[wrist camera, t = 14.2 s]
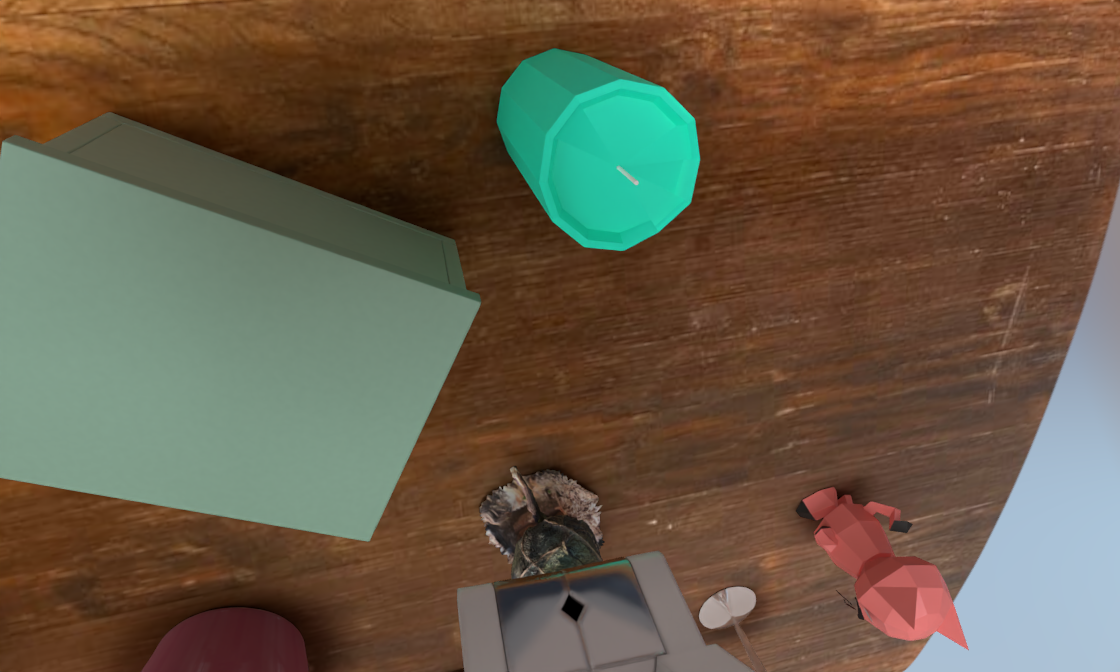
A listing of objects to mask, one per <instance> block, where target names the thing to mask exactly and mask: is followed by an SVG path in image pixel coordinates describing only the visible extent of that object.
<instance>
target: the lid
mask: <svg viewBox="0 0 1120 672" xmlns="http://www.w3.org/2000/svg"><path fill="white" fill-rule="evenodd" d="M480 305H481V299H480V295H479V294H478V293H475V292H472V291H469V290H466V289H463V288H460V287H457V286H454V285H451V284H448V283H445V282H443V281H440V280H437V279H434V278H431V277H428V276H425V275H422V274H419V273H416V272H413V271H410V270H408V269H405V268H402V267H399V266H396V265H393V264H390V263H387V262H384V261H381V260H378V259H375V258H373V257H370V256H367V255H364V254H361V253H358V252H355V251H352V250H349V249H346V248H343V247H340V246H338V245H335V244H332V243H329V242H326V241H323V240H320V239H317V238H314V237H311V236H308V235H305V234H303V233H300V232H297V231H294V230H291V229H288V228H285V227H282V226H279V225H276V224H273V223H270V222H268V221H265V220H262V219H259V218H256V217H253V216H250V215H247V214H244V213H241V212H238V211H235V210H233V209H230V208H227V207H224V206H221V205H218V204H215V203H212V202H209V201H206V200H203V199H200V198H198V197H195V196H192V195H189V194H186V193H183V192H180V191H177V190H174V189H171V188H168V187H165V186H163V185H160V184H157V183H154V182H151V181H148V180H145V179H142V178H139V177H136V176H133V175H130V174H128V173H125V172H122V171H119V170H116V169H113V168H110V167H107V166H104V165H101V164H98V163H95V162H93V161H90V160H87V159H84V158H81V157H78V156H75V155H72V154H69V153H66V152H63V151H60V150H58V149H55V148H52V147H49V146H46V145H43V144H40V143H37V142H34V141H31V140H28V139H25V138H23V137H20V136H17V135H14V136H12V137H10V138H8V139H6V140H4V141H3V142H2V149H1V156H0V478H5V479H10V480H16V481H22V482H28V483H33V484H39V485H45V486H51V487H56V488H62V489H68V490H74V491H79V492H85V493H91V494H97V495H103V496H108V497H114V498H120V499H126V500H131V501H137V502H143V503H149V504H154V505H160V506H166V507H172V508H177V509H183V510H189V511H195V512H200V513H206V514H212V515H218V516H224V517H229V518H235V519H241V520H247V521H252V522H258V523H264V524H270V525H275V526H281V527H287V528H293V529H298V530H304V531H310V532H316V533H321V534H327V535H333V536H339V537H345V538H350V539H356V540H362V541H368V542H369V541H370V539H371V537H372V535H373V533H374V531H375V528H376V526H377V524H378V522H379V520H380V518H381V516H382V513H383V511H384V509H385V507H386V505H387V503H388V501H389V499H390V496H391V494H392V492H393V490H394V488H395V486H396V484H397V482H398V479H399V477H400V475H401V473H402V471H403V469H404V467H405V464H406V462H407V460H408V458H409V456H410V454H411V452H412V450H413V447H414V445H415V443H416V441H417V439H418V437H419V435H420V433H421V430H422V428H423V426H424V424H425V422H426V420H427V418H428V415H429V413H430V411H431V409H432V407H433V405H434V403H435V401H436V398H437V396H438V394H439V392H440V390H441V388H442V386H443V384H444V381H445V379H446V377H447V375H448V373H449V371H450V369H451V366H452V364H453V362H454V360H455V358H456V356H457V354H458V352H459V349H460V347H461V345H462V343H463V341H464V339H465V337H466V335H467V332H468V330H469V328H470V326H471V324H472V322H473V320H474V317H475V315H476V313H477V311H478V309H479V307H480Z"/></svg>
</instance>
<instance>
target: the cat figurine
mask: <svg viewBox="0 0 1120 672" xmlns="http://www.w3.org/2000/svg"><path fill="white" fill-rule="evenodd" d="M796 512H797V513H798V514H799V516H800V517H804V518H807V519H811V520H815V521H817V520H819V519H821V518H823V517H824V518H823V520H822V521H821V523H820V524H819V526H818V527H817V529H816V530H815V532H814V534H815V536H814V537H815V539H816V542H817V544H818V545H820V546H821V547H822V548H823V549H824V550H826V552H827V553H828V555H829V556H830V558H831V559H832V561H833V562H834V564H835V565H836V566H838V567H839V568H841V569H842V570H844V571H845V572H847V573H848V574H850V575H851V576H853V577H854V578H856V579H857V581H856V583H855V585H854V586H855V591H856V595H857V599H856V597H855V599H856V601H857V600H858V601H857V606H858V617H859V619H862V620H864V619H865V620H867V621H868V622H870V623H871V624H872V625H874V626H875V627H877V628H878V629H879V630H881V631H882V632H884V633H885V634H886V635H888V636H889V637H894V638H899V639H904V640H909V641H912V640H918V639H924V638H926V637H928V636H929V635H931V634H933V633H934V632H936V631H938V632H939V633H941V634H942V635H944V636H946V637H948V638H949V639H951V640H952V641H954V642H956V643H957V644H959V645H961V646H962V647H964V648H966V649H968V646H967V643H966V640H965V637H964V634H963V631H962V629H961V625H960V622H959V619H958V616H957V613H956V610H955V607H954V604H953V601H952V599H951V596H950V593H949V591H948V588H947V585H946V583H945V581H944V580H943V578H942V576H941V574H940V572H939V571H938V569H937V567H936V565H933V564H931V563H929V562H927V561H924V560H922V559H920V558H917V557H915V556H913V557H895V554H894V552H893V550H892V547H891V545H890V543H889V540H888V538H887V536H886V533H885V532H884V530H883V528H882V526H881V524H880V522H879V521H878V520H877V519H876V518H875V517H874V516H873V515H874V514H875V513H876V512H878V513H881V514H883V515H886V516H888V517H890V523H889V530H890V531H897V532H904V533H907V532H908V530H909V529H910V527H911V526H912V525H913V524H911V523H909V522H907V521H900V510H898V509H896V508H894V507H890V506H886V505H883V504H879V503H875V502H872V501H871V502H870V503H868V504H867V505H866V506H865V507H864V506H863V505H862V504H853V501H852V498H851V495H843V496H842V497H841V498H839V499H838V500H837V492H836V490H835V488H834V487H831V488H827V489H823V490H820V491H818V492H816V493H814V494H813V495H811V496H809V497H807V498H805V499H803V500H802V501H801V503H800V505H799V507H798V508H797V510H796ZM836 591H837V590H836ZM837 592H838V591H837ZM838 593H839V592H838ZM839 594H840V593H839ZM840 595H841V594H840ZM841 596H842V595H841ZM842 597H843V596H842ZM847 601H848V600H847ZM844 602H845V600H844ZM848 602H849V601H848ZM849 603H850V602H849ZM858 603H859V605H858ZM846 604H847V603H846ZM850 604H851V603H850ZM847 605H848V604H847ZM851 605H852V604H851ZM848 606H850V605H848ZM852 606H853V605H852ZM852 606H850V607H852ZM859 606H860V608H859ZM852 608H853V607H852ZM853 609H855V608H853ZM855 610H856V609H855ZM862 614H863V615H862Z"/></svg>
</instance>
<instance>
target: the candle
mask: <svg viewBox="0 0 1120 672" xmlns="http://www.w3.org/2000/svg"><path fill="white" fill-rule="evenodd" d="M497 125H498V127H499V130H500V133H501V135H502V138H503V141H504V143H505V146H506V149H507V152H508V154H509V155H510V157H511V158H512V160H513V161H514V163H515V164H516V166H517V168H518V169H519V171H520V172H521V174H522V175H523V177H524V178H525V180H526V181H527V183H528V185H529V186H530V188H531V189H532V191H533V192H534V194H535V195H536V197H537V199H538V200H539V202H540V203H541V205H542V206H543V208H544V209H545V211H546V213H547V214H548V216H549V217H550V219H551V220H552V222H553V223H555V224H556V225H557V226H558V227H560V228H561V229H562V230H563V231H565V232H566V233H567V234H568V235H570V236H571V237H572V238H573V239H575V240H576V241H577V242H578V243H580V244H581V245H582V246H583V247H588V248H598V249H608V250H618V251H624V250H626V249H628V248H630V247H632V246H634V245H635V244H637V243H639V242H641V241H643V240H645V239H647V238H649V237H651V236H653V235H654V234H656V233H658V232H659V231H661V230H662V229H663V228H664V227H665V226H666V225H667V224H668V223H669V222H670V221H672V220H673V219H674V218H675V217H676V216H677V215H678V214H679V213H680V212H681V211H682V210H684V209H685V208H686V207H687V206H688V205H689V204H690V203H691V199H692V195H693V190H694V185H695V181H696V176H697V171H698V166H699V162H700V155H699V147H698V139H697V132H696V124H695V119H694V117H693V116H692V115H691V114H690V113H689V112H688V111H687V110H686V109H685V108H684V107H683V106H682V105H681V104H680V103H679V102H678V101H677V100H676V99H675V98H674V97H673V96H672V95H671V94H670V93H669V92H668V91H667V90H666V89H665V88H663V87H661V86H659V85H656V84H654V83H652V82H649V81H647V80H644V79H642V78H640V77H637V76H635V75H633V74H630V73H628V72H626V71H623V70H621V69H618V68H616V67H614V66H611V65H609V64H607V63H604V62H602V61H599V60H597V59H595V58H592V57H590V56H588V55H585V54H580V53H575V52H570V51H565V50H560V49H555V48H553V49H551V50H548V51H545V52H543V53H540V54H538V55H535V56H533V57H530V58H528V59H525V60H523V61H522V62H521V63H520V65H519V66H518V67H517V69H516V70H515V71H514V72H513V74H512V75H511V76H510V78H509V79H508V80H507V82H506V83H505V84H504V85H503V87H502V88H501V95H500V102H499V108H498V115H497Z"/></svg>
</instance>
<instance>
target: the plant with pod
mask: <svg viewBox="0 0 1120 672" xmlns="http://www.w3.org/2000/svg"><path fill="white" fill-rule="evenodd" d="M510 472H511V473H512V477H513V478H514V479H515V480H516V481H515V480H514V479H513V481H512V484H507V485H508V487H507V486H504V488H503V490H502V488H501V487H499V489H498V490H493V496H491V495H487V500H486V501H484V502H483V503H481V504H482V506H481V507H480V513H482V514H481V515H480V516H482V517H483V518H482V519H481V520H484V522H485V521H486V522H485V525H484V526H487V527H486V529H485V530H486V531H487V532H486V534H485V535H487V536H490V542H489V544H493V545H495V544H496V547H500V550H501V554H502V555H504V554H508V563H510V564H512V573H511V579H515V578H521V577H527V576H533V575H539V574H545V573H551V572H557V571H560V570H562V569H567V568H571V567H576V566H581V565H586V564H591V563H596V562H601V561H603V560H602V558H601V556H600V552H599V549H601V546H602V545H603V544H602V543H604V541H602V539H603V538H602V537H601V536H603V535H602V534H601V533H602V532H601V531H600V530H599V529H600V526H599V524H600V513H601V512H597V511H598V510H599V509H600V508H601V506H602V505H601V506H597V507H595V505H596V503H597V502H598V500H599V498H598V496H597V495H595V494H593V493H591V492H589V491H588V490H584V488H581V486H580V485H578V484H576V482H577V481H573V479H572V480H571V479H570V480H568V481H567V476H563V473H564V472H563V473H562V474H560V470H559V471H555V470H551V471H550V470H548V469H547V470H546V471H544V470H542V473H541V472H539V471H538V472H537V473H536V474H532V475H528V476H522V475H521V474H520V472H519V471H518V470H517V467H516V466H513V467H512V468H511V469H510ZM596 512H597V513H596Z"/></svg>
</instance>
